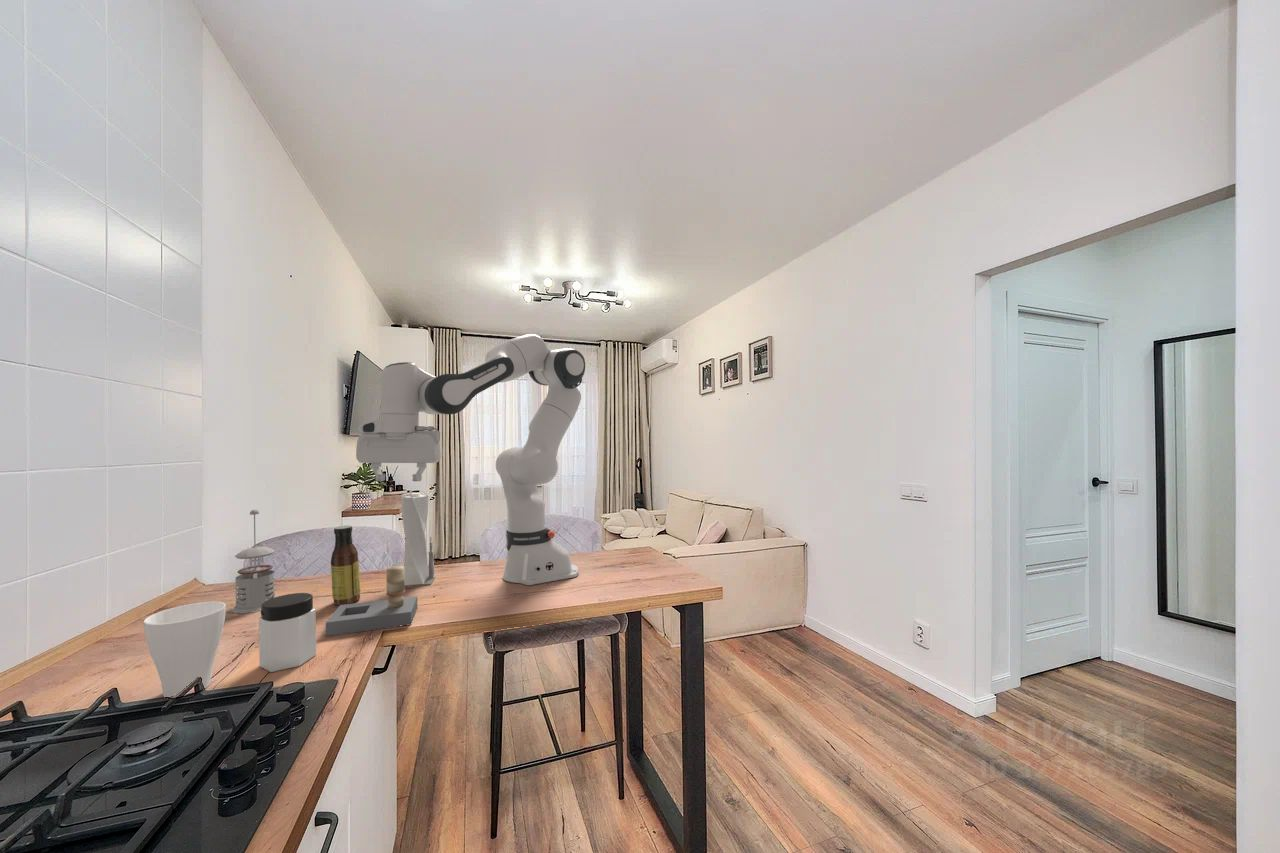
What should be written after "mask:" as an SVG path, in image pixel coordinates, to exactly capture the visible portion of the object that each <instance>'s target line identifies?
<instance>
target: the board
mask: <svg viewBox="0 0 1280 853" xmlns="http://www.w3.org/2000/svg"><path fill="white" fill-rule="evenodd" d="M416 610H418V595H415V596H413V595H412V596H408V597H407V596H405V597H403V606H401V607H398V608H389V607H388V598H387V599H379V600H373V601H372V600H371V601H363V602H354V603H350V604H344V605H338V606H337V608H336V609H335V611H333V613H332V614H331V615H330V617H329V618H328V619H327V620H326V621H325V636H326V637H331V636H337V635H345V634H352V633H361V632H368V631H374V630H382V629H383V628H384V629H389V628H388V627H391V628H395V627H394V626H399V627H401V626H400V625H406V626H408V625H407V624H411V623H412V624H413V622H412V621H414V619H415V616H416V613H417V611H416ZM413 618H414V619H413ZM412 624H411V625H412Z"/></svg>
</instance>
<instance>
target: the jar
mask: <svg viewBox="0 0 1280 853" xmlns="http://www.w3.org/2000/svg"><path fill="white" fill-rule="evenodd" d="M313 597H314V596H313V594H311V593H309V592H308V593H307V592H295V593H288V594H283V595H278V596H275V598H272V599H269V600H267V601H265V602H264V603H263V604H262V605H261V611H260V615H261V617H258V642H259V643H258V645H259V649H258V650H259V651H258V653H259V654H258V655H259V660H258V661H259V667H260V668H263V669H264V670H266V671H268V672H270V673H274V672H280V671H283V670H288V669H293V668H298V667H300V666H302V665H303V664H305V663H306V662H308V661H309V660H311V659H312V658H314V657H316V655H317V638H316V637H317V634H316V631H317V630H316V629H317V628H316V627H317V626H316V623H317V622H316V621H317V620H316V619H317V618H316V608H314V601H313V599H314V598H313Z"/></svg>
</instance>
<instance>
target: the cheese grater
mask: <svg viewBox="0 0 1280 853" xmlns="http://www.w3.org/2000/svg"><path fill="white" fill-rule="evenodd" d="M417 491H419V492H417ZM421 492H423V493H424V494H425V495H422V494H421ZM400 497H401V498H400V501H401V503H400V504H401V518H402V526H403V532H404V536H405V540H404V556H403V557H404V558H403V560H404V561H403V562H404V564H403V566H404V582H405V588H408V586H412V587H422V586H423V585H424V586H431V585H432V584H433V582H434V580H435V579H436V576H435V558H434V556H435V555H434V550H433V542H432V536H430V537H429V538H430V540H429V551H428V547H427V546H428V545H427V540H426V539H427V538H426V529H427V522H428V516H429V515H428V514H429V494H428V492H427V491H426V490H424V489H423V488H413V489H410V490H409V492H407V493H402V495H401V496H400ZM421 585H422V586H421Z"/></svg>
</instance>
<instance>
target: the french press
mask: <svg viewBox="0 0 1280 853" xmlns="http://www.w3.org/2000/svg"><path fill="white" fill-rule="evenodd" d="M259 514H260V511H259V510H258V509H252V510H250V512H249V515H251V516H252V515H253V536H254V537H253V540H254V542H253V543H254V546H252V547H249V548H248V547H247V548H246V549H243V550H240V552H238V553H236V554H235V555H234V557H235V558H236V559H237V560H238V559H239V560H249V559H250V560H249V561H250V566H247V567H243V568H241V569H239V570H238V571H237V574H239V575H237V576H236V577H235V605H234V607H233V608H232V609H231V610H230V612H231V613H232V612H233V613H232V614H237V613H241V614H248V613H247V612H251V613H253V612H252V611H257V610H260V609H261V605H262V604H263V603H264V602H265V601H267V600H269V599H272V598H275V597H276V587H275V585H276V582H275V581H276V578H275V577H276V575H275V570H272V569H273V565H271V564H261V563H260V562H261V559H260V558H264V557H267V556H270V555H273V554H274V553H275V552H276V551H275V549H273V548H271V547H267V546H256V515H259ZM253 559H254V560H253ZM257 561H258V563H257ZM253 562H254V565H253ZM256 563H257V564H258V565H257V564H256ZM252 565H253V566H252ZM255 574H256V577H254V575H255ZM257 612H258V611H257Z"/></svg>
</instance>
